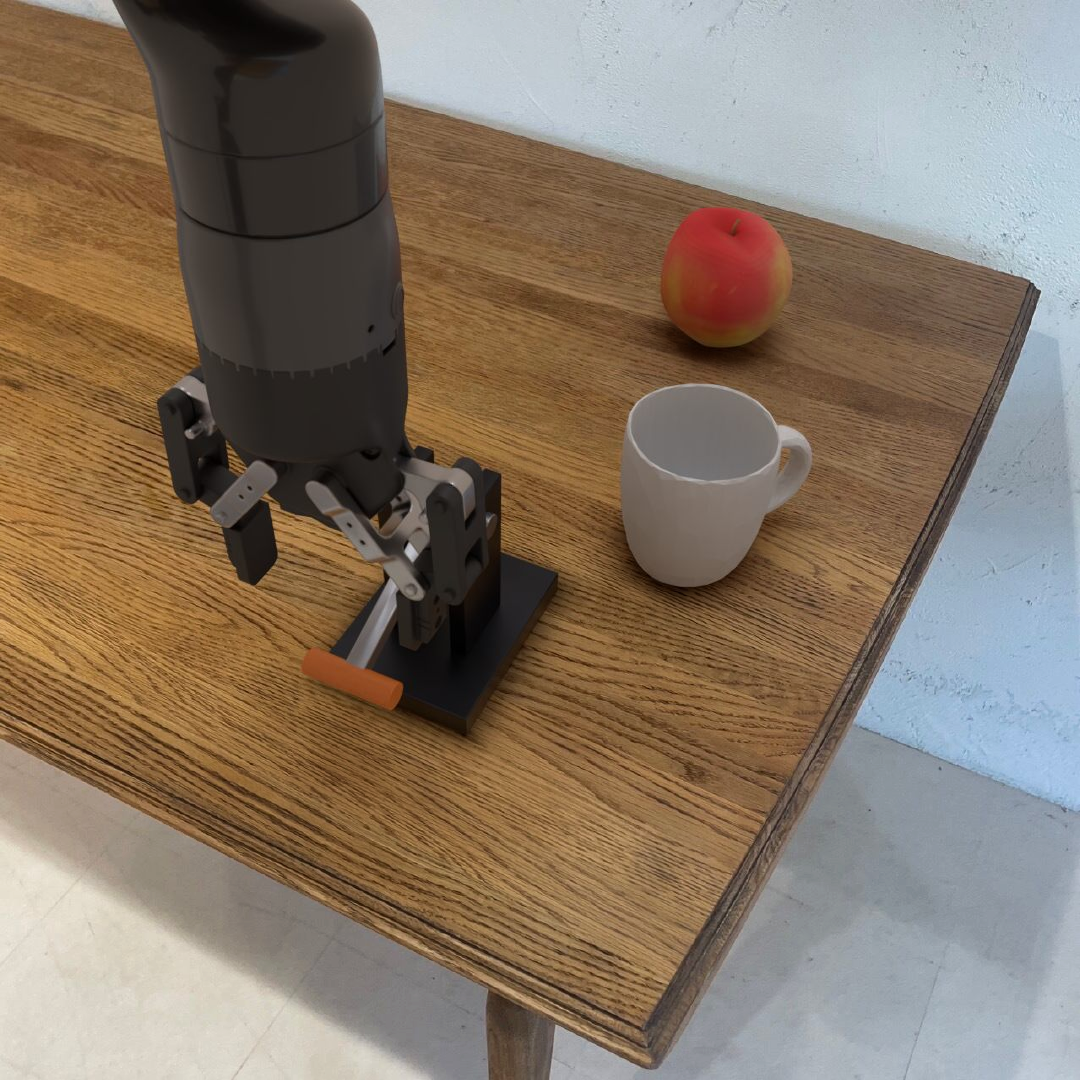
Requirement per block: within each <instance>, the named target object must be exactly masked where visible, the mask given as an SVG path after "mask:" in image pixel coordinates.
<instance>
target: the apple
mask: <svg viewBox="0 0 1080 1080" xmlns="http://www.w3.org/2000/svg"><path fill="white" fill-rule="evenodd" d="M793 272H794V271H793V263H792V259H791V256H790V252H789V249H788V248H787V246H786V244H785V242H784V240H783V239H782V237H781V236H780V234H779V233H778V231H777V230H776V229H775V228H774V227H773V225H772V224H771V223H769V221H767V219H765V218H763V217H761V216H759V215H758V214H755V213H753V212H751V211H747V210H743V209H740V208H734V207H725V206H723V207H722V206H720V207H719V206H717V207H716V206H715V207H704V208H698V209H696V210H694V211H691V212H690V213H689V214H688V215H687V216H686V217H685V218H684V219H683V220H682V221H681V223H680V224H679V225H678V227H677V228H676V230H675V232H674V233H673V235H672V237H671V238H670V241H669V244H668V246H667V248H666V251H665V254H664V257H663V262H662V266H661V272H660V282H659V283H660V284H659V286H660V287H659V289H660V291H659V292H660V297H661V301H662V306H663V308H664V310H665V312H666V314H667V316H668V317H669V319H670V320H671V322H672V323H673V324H674V325H675V326H676V327H677V328H678V329H679V330H680V331H682V333H684V334H685V335H687V336H688V337H689V338H691V340H693V341H695V342H696V343H698V344H700V345H702V346H705V347H708V348H734V347H738V346H742V345H745V344H748V343H750V342H752V341H754V340H756V339H758V338H759V337H760V336H761V335H763V334H764V333H765V332H766V331H767V330H768V329H769V328H770V327H771V326H772V325H773V324H775V322H776V320H777V319H778V318H779V316H780V315H781V313H782V312H783V310H784V308H785V307H786V305H787V302H788V300H789V298H790V294H791V291H792V286H793V280H794V274H793Z"/></svg>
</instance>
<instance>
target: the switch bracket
mask: <svg viewBox="0 0 1080 1080" xmlns="http://www.w3.org/2000/svg"><path fill="white" fill-rule="evenodd" d="M413 450H414V452H415V454H416V457H417V459H419V460H423V461H426V462H429V463H433V464H436V463H435V451H434V450H433V449H431V448H428V447H425V446H422V445H420V444H417V446H416V447H415V448H413ZM482 471H483V482H484V496H485V511H486V525H487V540H488V554H489V564H488V565H487V567H486V568H485V570H484V571H483V572H482V573H481V574H480V575H479V576H478V578H477V579H476V580H475V582H474V583H473V585H472V586H471V588H470V589H469V590H468V592H467V595H466V597H465V598H464V599H463V601H462V602H461V604H459V605H450V604H447V603H446V618H445V619H444V621H443V623H442V624H441V625H440V627H439V628H438V630H437V631H436V632H435V634H434V635H433V637H432V638H431V640H430V641H429V642H428V644H426V643H423V642H422V644H421V645H420V647H419V648H418V649H417V650H415V651H414V650H412V649H409V648H407V647H404V646H402V645H400V643H399V630H398V620H397V622H396V624H395V626H394V627H393V629H392V631H391V633H390V635H389V637H388V639H387V641H386V643H385V645H384V647H383V649H382V651H381V653H380V655H379V656H378V658H377V660H376V662H375V664H374V666H373V668H372V671H375V672H377V673H379V674H382V675H384V676H387V677H389V678H392V679H394V680H397V681H399V682H401V683H402V684H403V691H402V695H401V698H400V700H399V702H398V704H397V705H396V706H395V708H396V707H397V708H399V709H401V710H404V711H406V712H408V713H411V714H413V715H416V716H418V717H420V718H422V719H425V720H428V721H429V722H432V723H435V724H437V725H440V726H442V727H444V728H447V729H450V730H451V731H454V732H457V733H458V734H461V735H464V736H467V735H468V734H469V732H470V730H471V729H472V727H473V725H474V724H475V722H476V720H477V719H478V718H479V716H480V714H481V713H482V711H483V709H484V708H485V706H486V705H487V704H488V701H489V700H490V698H491V697H492V695H493V694H494V692H495V690H496V689H497V687H498V686H499V684H500V682H501V681H502V679H503V678H504V676H505V674H506V673H507V671H508V669H509V668H510V666H511V665H512V664H513V661H514V660H515V658H516V657H517V655H518V654H519V652H520V650H521V648H522V647H523V646H524V644H525V642H526V641H527V639H528V638H529V635H531V633H532V631H533V630H534V628H535V626H536V624H537V623H538V621H539V620H540V618H541V616H542V615H543V613H544V612H545V610H546V609H547V607H548V605H549V604H550V602H551V601H552V599H553V597H554V595H555V594H556V593H557V591H558V589H559V572H558V571H554V570H551V569H549V568H546V567H543V566H541V565H538V564H535V563H533V562H530V561H527V560H524V559H521V558H519V557H516V556H514V555H511V554H508V553H505V552H502V473H501V472H498V471H497V470H496V471H495V470H492V469H490V468H486V467H485V468H484V469H482ZM391 515H392V506H391V503H389V504H388V505H387V506H385V507H384V508H383V509H382V510H381V511H380V512H379V513H377V521H378V523H377V524H378V531H379V530H380V529H381V528H382V527H383V525H384V524H385V523H386V522H387V521H388V519H389V518H390V517H391ZM408 542H409V541H408V540H407V541H406V542H405V544H404V550H405V548H406V546H407V544H408ZM382 572H383V582H382V584H381V585H379V587H378V589H377V590H376V591H375V592H374V593H373V595H372V597H370V599H369V600H368V602H367V603H366V604H365V606H364V607H363V608H362V609H361V611H360V612H359V613H358V615H357V616H356V617H355V618H354V620H353V621H352V622H351V624H350V625H349V626H348V628H347V629H346V630H345V631H344V632H343V634H342V635H341V636H340V638H339V639H338V640H337V641H336V643H335V644H334V645H333V647H332V648H331V649H330V651H329V652H328V653H331V654H333V655H336V656H338V657H340V658H343V659H345V660H347V658H348V656H349V654H350V652H351V650H352V648H353V647H354V645H355V643H356V641H357V639H358V637H359V635H360V633H361V631H362V629H363V628H364V626H365V624H366V622H367V620H368V618H369V616H370V614H371V612H372V611H373V609H374V607H375V605H376V603H377V601H378V599H379V597H380V595H381V593H382V592H383V590H384V588H385V586H386V584H387V582H388V580H389V578H390V577H389V575H388V574H387V573H386V571H385V570H384V569H383V568H382Z"/></svg>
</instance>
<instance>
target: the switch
mask: <svg viewBox="0 0 1080 1080" xmlns="http://www.w3.org/2000/svg"><path fill="white" fill-rule="evenodd" d="M404 551H405V553H406V555H407V556H408V557H409V559H410V560H411V561H412V563H413V562H414V560H415V559H416V558H417V556H418V555H419V554H418V553H417V552H416V550H415V549H414V548H413V546H412V545H411V544H410V542H408V544H407V546H406V548H405V550H404ZM398 590H399V588H398V587H397V586H396V584H395V583H394V582H393V581H392V579H391V578H389V580H388V582H387V584H386V586H385V588H384V590H383V592H382V593H381V595H380V597H379V599H378V601H377V603H376V605H375V607H374V609H373V611H372V612H371V614H370V616H369V618H368V620H367V622H366V624H365V626H364V628H363V629H362V631H361V633H360V635H359V637H358V639H357V641H356V643H355V645H354V647H353V648H352V650H351V652H350V654H349V656H348V658H347V660H345V659H343V658H340V657H338V656H336V655H333V654H331V653H329V652H328V651H326V650H324V649H321V648H318V647H316V646H315V647H314V646H313V647H311V648H309V650H308V651H307V652H306V653H305V655H304V657H303V660H302V663H301V673H302V674H303V675H305V676H308V677H310V678H312V679H315V680H317V681H319V682H322V683H324V684H327V685H329V686H332V687H334V688H336V689H339V690H341V691H343V692H346V693H348V694H351V695H353V696H355V697H357V698H360V699H362V700H365V701H367V702H369V703H372V704H374V705H377V706H379V707H382V708H384V709H386V710H388V711H391V710H394V709H395V708H396V705H397V704H398V702H399V700H400V698H401V695H402V691H403V684H402V683H401V682H399V681H397V680H394V679H392V678H389V677H387V676H384V675H382V674H379V673H377V672H375V671H372V668H373V666H374V664H375V662H376V660H377V658H378V656H379V655H380V653H381V651H382V649H383V647H384V645H385V643H386V641H387V639H388V637H389V635H390V633H391V631H392V629H393V627H394V626H395V624H396V622H397V620H398V618H397V605H396V592H397V591H398Z"/></svg>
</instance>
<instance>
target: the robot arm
mask: <svg viewBox="0 0 1080 1080" xmlns="http://www.w3.org/2000/svg"><path fill="white" fill-rule="evenodd" d="M111 1H112V3H113V5H114V7H115V9H116V11H117V13H118V15H119V16H120V19H121V20H122V22H123V24H124V26H125V28H126V30H127V32H128V33H129V36H130V37H131V40H132V41H133V43H134V45H135V47H136V49H137V52H138V54H139V56H140V57H141V59H142V61H143V63H144V65H145V68H146V70H147V73H148V76H149V79H150V85H151V91H152V96H153V103H154V107H155V113H156V119H157V126H158V130H159V135H160V139H161V140H160V141H161V145H162V150H163V154H164V158H165V159H164V160H165V164H166V169H167V173H168V179H169V183H170V187H171V193H172V197H173V203H174V211H175V222H176V224H175V225H176V241H177V242H176V244H177V245H176V246H177V254H178V255H177V256H178V262H179V268H180V269H179V270H180V273H181V277H182V278H181V279H182V283H183V287H184V291H185V295H186V296H185V297H186V300H187V306H188V311H189V315H190V319H191V320H190V321H191V325H192V329H193V334H194V338H195V345H196V348H197V354H198V358H199V364H200V365H196V366H195V367H193V369H191V370H190V371H189V372H187V373H186V374H185V375H184V376H183V377H182V378H180V380H179V381H177V382H176V383H175V384H173V385H172V387H170V388H169V389H167V390H166V391H165V392H164V393H163V394H162V395H161V396H160V397H158V398H157V400H156V407H157V412H158V417H159V422H160V428H161V432H162V438H163V444H164V448H165V452H166V457H167V465H168V468H169V473H170V478H171V484H172V488H173V492H174V494H175V495H176V496H177V498H178V499H180V500H181V501H182V502H183V503H185V504H187V505H195V504H196V503H197V502H198V501H199V502H201V503H203V504H204V505H206V506H207V507H209V515H210V517H211V519H212V520H213V521H214V522H215V523H216V524H217V525H219V526H220V528H221V532H222V536H223V540H224V544H225V549H226V554H227V557H228V559H229V561H230V563H231V565H232V566H233V568H235V571H236V575H237V579H238V580H239V581H241V582H242V583H245V584H248V585H251V586H256V585H258V584H259V582H261V580H263V578H264V577H265V576H266V575H267V573H268V572H269V571H270V570H271V569H272V568H273V567H274V566H275V564H276V562H277V560H278V556H279V551H278V545H277V540H276V535H275V530H274V529H275V528H274V523H273V518H272V512H271V507H270V502H269V501H266V500H264V499H262V498H263V497H264V496H265V495H266V494H267V495H268V496H269V497H270V498H271V499H272V500H274V501H275V502H276V503H278V504H279V508H280V510H281V511H284V512H287V513H290V514H292V515H295V516H301V517H306V518H311V519H313V520H315V521H316V522H319V523H320V524H321V525H324V526H326V527H327V528H329V529H332V530H335V531H337V532H341V533H343V535H344V536H345V537H346V539H347V540H348V541H349V542H350V544H351V545H352V546H353V547H354V549H355V550H356V552H357V553H358V554H359V555H360V556H361V558H362V560H364V561H365V563H368V564H371V565H372V564H378V565H380V567H382V570H383V569H384V570H385V571H386V573H387V574H388V575H389V577H390V578H391V579H392V581H393V582H394V583H395V584H396V586H397V587H398V588H399V590H398V591H397V592H396V605H397V618H398V630H399V643H400V645H402V646H404V647H407V648H409V649H412V650H414V651H415V650H417V649H418V648H419V647H420V645H421V644H422V642H423V643H426V644H428V642H429V641H430V640H431V638H432V637H433V635H434V634H435V632H436V631H437V630H438V628H439V627H440V625H441V624H442V623H443V621H444V619H445V618H446V603H447V604H450V605H459V604H461V602H462V601H463V599H464V598H465V597H466V595H467V592H468V590H469V589H470V588H471V586H472V585H473V583H474V582H475V580H476V579H477V578H478V576H479V575H480V574H481V573H482V572H483V571H484V570H485V568H486V567H487V565H488V564H489V554H488V540H487V525H486V511H485V496H484V482H483V469H482V467H481V465H480V464H479V463H478V462H477V461H476V460H474V459H473V458H471V457H468V456H461V457H458V459H456V461H455V462H453V464H452V466H450V468H449V467H446V466H443V465H440V464H436V463H435V464H433V463H429V462H426V461H423V460H419V459H417V457H416V454H415V452H414V448H413V447H412V445H411V443H410V440H409V439H408V436H407V433H406V430H405V429H406V428H405V427H406V426H405V424H406V417H407V410H408V404H409V379H408V376H409V375H408V361H407V342H406V341H407V340H406V328H405V327H406V326H405V323H406V322H405V307H404V305H405V289H404V285H403V272H402V254H401V253H402V252H401V245H400V236H399V230H398V224H397V220H396V219H397V218H396V215H395V211H394V205H393V201H392V196H391V188H390V180H389V179H390V175H389V157H388V142H387V141H388V140H387V139H388V138H387V125H386V124H387V123H386V109H385V107H386V105H385V95H384V82H383V72H382V70H383V69H382V62H381V56H380V50H379V44H378V39H377V36H376V33H375V30H374V27H373V24H372V22H371V21H370V19H369V17H368V16H367V15H366V14H365V12H364V11H363V10H362V9H361V7H360V6H359V5H357V4H356V3H355V2H354V1H352V0H111ZM227 444H228V445H229V447H231V449H232V450H233V451H234V453H235V454H236V456H237V457H238V458H239V459H240V461H241V462H242V463H243V464H244V466H245V468H246V469H245V470H244V471H243V473H242V474H241V475H240V476H239V475H238V474H236V473H234V472H233V471H231V470H230V462H229V455H228V448H227V447H228V446H227ZM389 503H391V506H392V515H391V517H390V518H389V519H388V521H387V522H386V523H385V524H384V525H383V527H382V528H381V529H380V530H379V529H377V528H376V527H375V526H374V524H373V522H372V521H371V520H372V519H373V518H374V517H375V516H377V515H378V513H379V512H380V511H381V510H382V509H383V508H384V507H385V506H387V505H388V504H389ZM407 540H408V541H409V542H410V544H411V545H412V546H413V548H414V549H415V550H416V552H417V553H418V554H419V555H418V556H417V558H416V559H415V560H414V562H413V563H412V561H411V560H410V559H409V557H408V556H407V555H406V553H405V551H404V544H405V542H406V541H407Z"/></svg>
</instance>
